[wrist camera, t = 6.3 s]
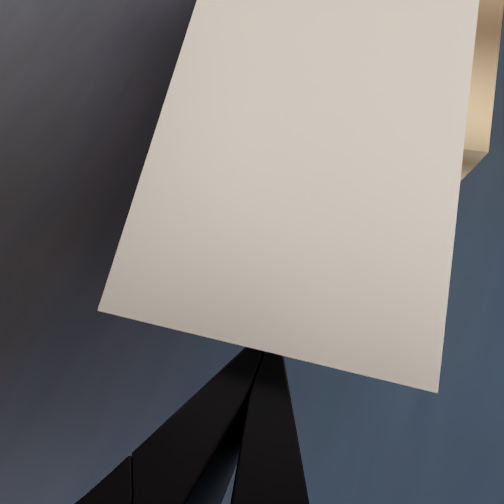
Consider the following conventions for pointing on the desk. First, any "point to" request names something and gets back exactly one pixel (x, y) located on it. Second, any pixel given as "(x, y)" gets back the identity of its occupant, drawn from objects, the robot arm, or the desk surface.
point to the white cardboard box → (306, 183)
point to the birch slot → (482, 83)
